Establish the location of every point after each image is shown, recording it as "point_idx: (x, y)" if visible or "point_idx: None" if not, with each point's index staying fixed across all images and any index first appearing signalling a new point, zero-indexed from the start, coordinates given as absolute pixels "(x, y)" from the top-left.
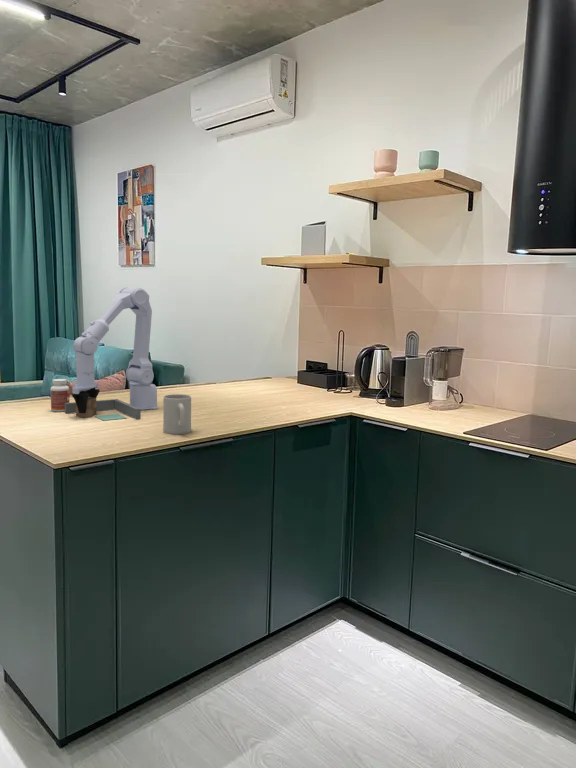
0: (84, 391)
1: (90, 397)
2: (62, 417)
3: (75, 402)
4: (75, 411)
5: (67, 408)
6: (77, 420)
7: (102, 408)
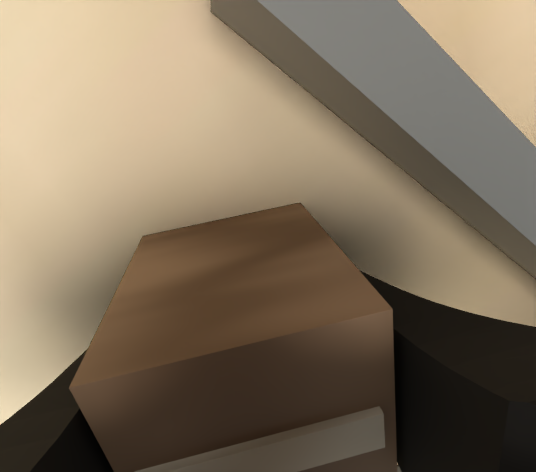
0: (487, 445)
1: (380, 442)
2: (6, 136)
3: (407, 53)
4: (313, 92)
5: (232, 9)
6: (10, 365)
7: (520, 259)
